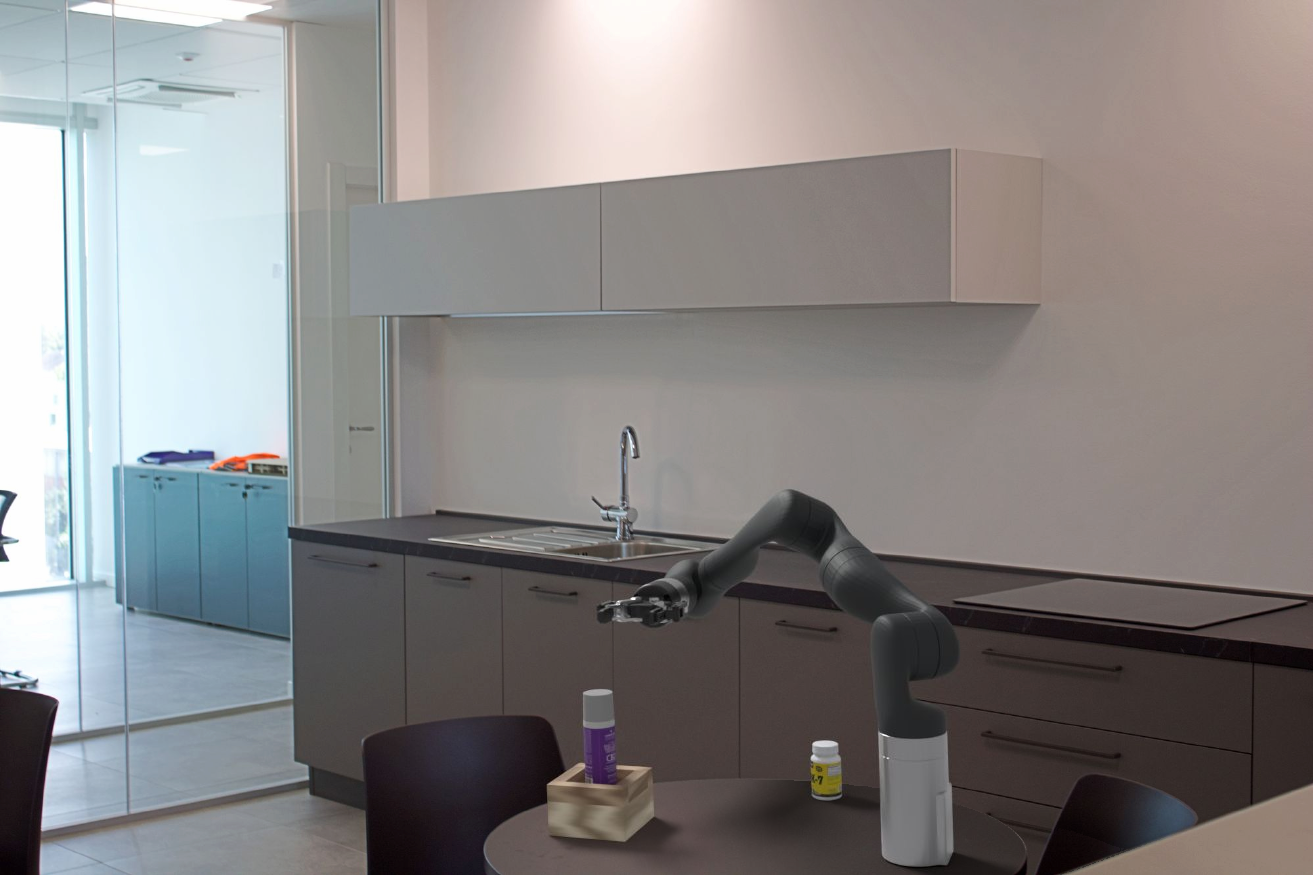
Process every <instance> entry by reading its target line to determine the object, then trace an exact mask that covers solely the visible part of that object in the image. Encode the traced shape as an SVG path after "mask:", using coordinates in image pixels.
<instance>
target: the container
mask: <svg viewBox="0 0 1313 875" xmlns="http://www.w3.org/2000/svg"><path fill="white" fill-rule="evenodd" d="M582 711H583V712H582V714H583V715H582V716H583V718H582V725H583V726H582V728H583V751H584V752H583V754H584V763H585V781H586V783H591V784H605V785H616V784H617V770H616V765H617V749H616V747H617V746H616V722H615V707H614V692H613V690H611V689H605V688H599V689H598V688H596V689H595V688H594V689H589V690H586V691H583V693H582Z"/></svg>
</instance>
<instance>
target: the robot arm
mask: <svg viewBox="0 0 1313 875" xmlns="http://www.w3.org/2000/svg"><path fill="white" fill-rule="evenodd" d="M774 542H775V543H776V544H778V545H779V546H781V547H784V548H787V549H789V550H792V551H794V552H797V553H799V554H801V555H802V556H806V557H808V558H810V559H812V560H814V561H815V562H816V563H817V564H819V566H818V578H819V583H820V584H821V587H822V588H823V590H824V591H825V593H826V594H827V596H828V597H830V599H831V601H833V602H834V603H835V605H837V607H838V608H839V609H840V610H842V611H843V612H844V613H846V614H847V615H848V616H850V617H853V618H855V619H857V620H859V621H862V622H864V623H867V624H870V625H872V626H871V627H872V628H871V630H870V631H871V632H870V642H869V644H870V645H869V646H870V659H871V670H872V680H873V681H872V683H873V698H874V707H875V713H876V717H877V731H878V732H877V733H878V734H877V736H878V762H879V763H878V764H879V768H878V769H879V800H880V801H879V802H880V806H879V807H880V831H881V832H880V833H881V834H880V836H881V837H880V839H881V840H880V841H881V855H882V857H883V858H884V860H886V861H888V862H890V863H892V864H896V865H899V866H906V867H916V868H917V867H931V866H939V865H940V866H947V865H948V864H949V862H950V860H951V857H952V856H953V852H954V828H953V827H954V824H953V823H954V821H953V792H952V791H953V788H952V786H953V785H952V783H951V782H950V780H949V752H948V751H949V749H948V718H947V712H946V711H945V710H944V709H943V708H942V707H940V706H939V705H936V704H933V703H929V702H925V701H922V700H919V699H916V698H914V697H912V694H911V691H910V690H911V689H910V683H909V682H918V681H927V680H929V681H930V680H936V679H940V678H943V677H947V676H949V675H950V674H952V673H953V672H954V671H955V670H956V668H957V667H958V665H959V663H960V659H961V645H960V640H959V637H958V634H957V633H956V630H955V628H954V627H953V625H952V622H950V620H949V619H948V618H947V617H946V616H945V615H944V613H943V612H941V610H939V609H937V608H936V607H935V606H933V605H932V604H930V603H929V602H927V601H926V600H924V599H923V598H922V597H920V596H919V595H918V594H916V593H915V592H914V591H912V590H911V589H910V588H909V587H908V586H907V585H906V584H904V582H902V581H901V580H900V579H899V578H898V577H897V576H895V575H894V574H893V573H892V572H891V571H890V569H889V568H888V567H887V565H885V564H884V563H883V562H882V561H881V560H880V559H879V558H878V556H876V555H875V554H874V553H873V552H872V551H871V550H870V549H869V548H868V547H866V546H865V545H864V544H863V543H862V542H861V541H860V540H859V539H857V538H856V537H855V536H854V535H853V534H852V533H851V532H850V530H849V529H848V528H847V526H846V524H845V523H844V521H843V520H842V519H841V517H840V516H839V514H838V513H837V512H836V511H835V509H834V508H833V507H832V506H830V505H829V504H827V503H826V502H824V501H822V500H820V499H818V498H816V497H812V496H810V495H809V494H805V493H803V492H801V491H799V490H795V489H791V488H789V489H784V490H781V491H779V492H777V493H776V494H774V496H772V497H771V498H770V499H769V500H768V501H767V502H765V504H764V505H762V507H760V509H759V510H758V511H757V512H756V513H755V514H754V515H753V516H752V517H751V518H750V519H749V520H748V521H747V522H746V524H744V525H743V526H742V527H741V528H740V530H739V531H738V532H737V533H736V534H735V535H734V536H733V537H731V539H729V540H728V541H727V542H725V543H723V544H722V545H720V546H719V547H718V548H715V550H713V551H711V552H710V553H709V554H707V555H706V556H704V557H703V558H702V559H701V560H700V562H699V561H697V560H695V559H692V558H687V559H683V560H681V561H679V562H677V563H675V564H674V565H672V567H671V568H670V569H669V570H668V571H667V572H666V573H665V576H664V577H663V578H659V579H656V580H654V581H651V582H648V583H646V584H644V585H642V586H640V587H639V588H638V589H637V590H636V591H635V592H634V593H633V596H632V597H631V598H627V599H621V600H616V599H609V600H607V601H604V602H600V603H598V604H596V605H595V607H596V608H595V610H596V620H597V622H598V623H599V624H600V625H605V624H607V623H609V622H612V621H616V622H618V623H619V622H620V623H627V622H636V623H639V624H640V625H641V626H643V627H645V628H648V629H651V630H652V629H653V630H657V629H661V628H663V627H666V626H667V625H669V624H671V623H673V622H674V623H679V622H681V621H683V620H684V619H686V618H690V619H695V620H696V619H701V618H703V617H705V616H708V615H709V614H710V613H711V612H712V611H714V609H716V607H717V606H718V605H719V603H720V601H721V600H722V599H723V597H724V596H725V595H726V593H727V592H728V591H729V590H730V589H732V588H734V587H735V586H736V585H738V584H740V583H741V582H743V581H745V580H746V579H748V577H749V576H751V575H752V573H753V572H754V570H755V569H756V567H757V564H758V563H759V557H760V549H761V546H764V545H766V544H769V543H774ZM625 616H626V617H625Z"/></svg>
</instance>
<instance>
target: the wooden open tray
mask: <svg viewBox="0 0 1313 875" xmlns="http://www.w3.org/2000/svg"><path fill="white" fill-rule="evenodd" d="M616 770H617V784H616V785H605V784H591V783H586V781H585V762H579V763H577V764H575V765H574V766H572V767H571V768H570V769H568V770H566V771H565V772H563V773H562V774H560V775H559V776H558V777H556V778H554V779H553V780H551V781H550V782H549V783H547V784H546V793H547V795H546V796H547V797H546V798H547V799H546V800H547V801H546V802H547V820H548V822H547V823H548V824H547V825H548V826H547V827H548V836H551V837H552V836H554V837H564V838H566V837H567V838H575V839H577V838H578V839H589V840H590V839H591V840H601V841H610V842H611V841H613V842H623V843H625V842H627V841H628V840H629V839H630V838H631V837H633V836H634V834H636V833H637V832H638V831H639V830H640V829H642V828H643V827H644V826H645V825H646V824H647V823H648V822H650V821H651V820H652V819H653V818H654V817H655V809H654V807H655V806H654V804H655V803H654V784H653V781H654V780H653V776H654V775H653V767H649V766H637V765H636V766H633V765H620V764H619V765H618V764H616Z"/></svg>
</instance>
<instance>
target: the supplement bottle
mask: <svg viewBox="0 0 1313 875" xmlns="http://www.w3.org/2000/svg"><path fill="white" fill-rule="evenodd" d="M811 751H812V753H813V754H812V755H811V756H810V779H811V780H810V781H811V783H810V785H811V796H812V797H813V798H814V799H816V800H820V801H834V800H838V799H841V798H842V796H843V785H842V782H843V780H842V759H841V756H840V755H839V743H838V742H836V741H833V740H816V741H814V742H813V743H812V750H811Z"/></svg>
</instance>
